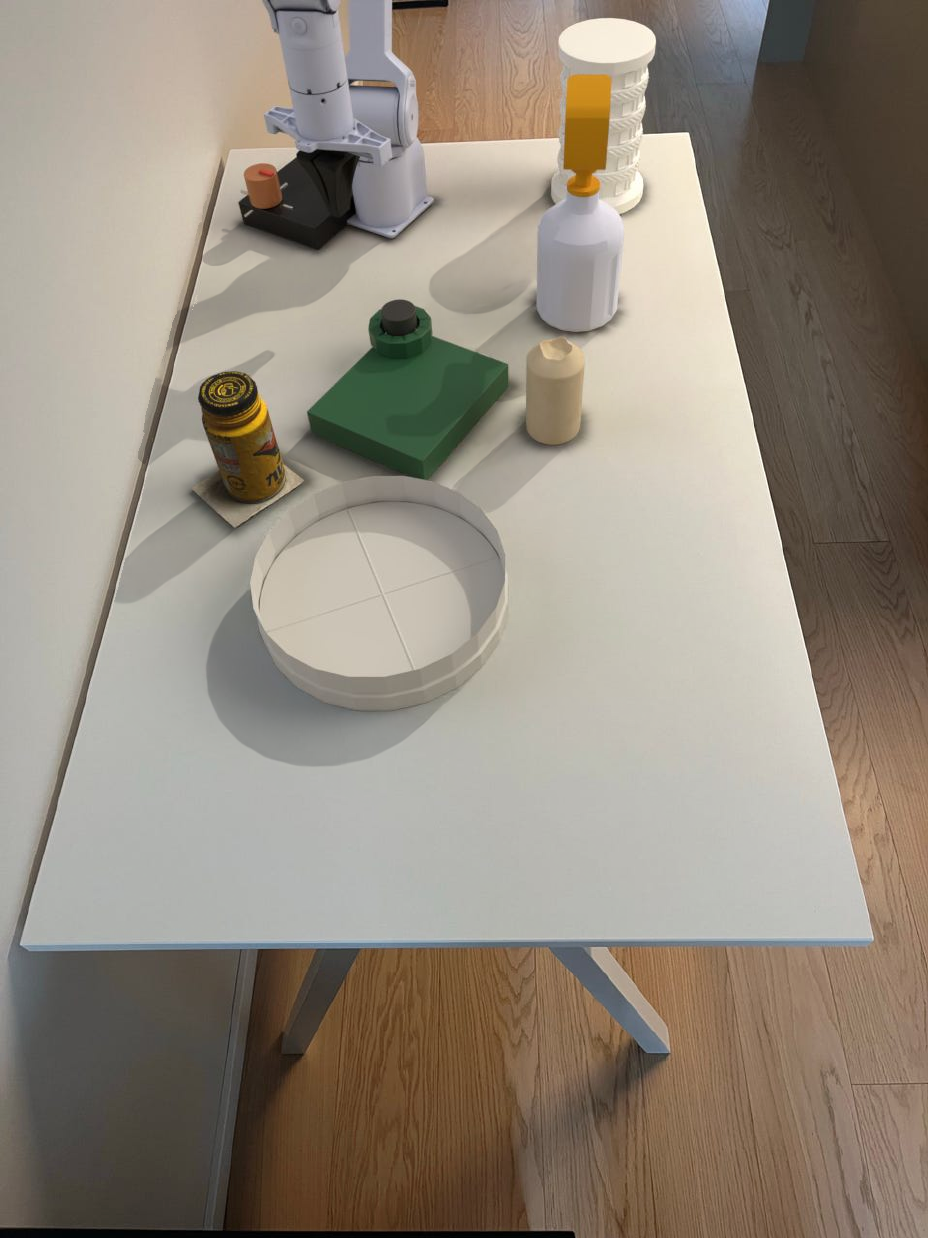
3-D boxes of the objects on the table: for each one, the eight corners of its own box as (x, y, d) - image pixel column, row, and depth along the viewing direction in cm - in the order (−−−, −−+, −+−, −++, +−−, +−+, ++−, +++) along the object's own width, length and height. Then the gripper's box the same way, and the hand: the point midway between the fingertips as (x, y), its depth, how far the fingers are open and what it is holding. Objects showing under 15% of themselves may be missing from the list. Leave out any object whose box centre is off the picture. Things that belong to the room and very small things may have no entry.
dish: (236, 552, 89) (222, 516, 85) (457, 483, 93) (454, 446, 88) (296, 748, 76) (284, 718, 72) (549, 660, 80) (550, 626, 76)
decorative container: (634, 163, 124) (649, 12, 109) (649, 213, 117) (668, 59, 103) (545, 170, 124) (549, 20, 110) (556, 221, 117) (561, 68, 103)
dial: (243, 203, 118) (236, 173, 114) (264, 187, 120) (257, 157, 116) (268, 212, 116) (261, 181, 113) (289, 195, 118) (282, 165, 115)
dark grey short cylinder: (395, 311, 101) (393, 295, 100) (423, 321, 100) (422, 305, 98) (376, 330, 100) (373, 314, 98) (404, 341, 98) (402, 324, 97)
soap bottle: (616, 284, 110) (638, 58, 90) (616, 335, 104) (638, 107, 84) (538, 282, 110) (542, 58, 90) (534, 333, 105) (537, 107, 85)
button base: (396, 335, 106) (392, 297, 102) (514, 379, 101) (514, 341, 97) (302, 429, 98) (292, 392, 94) (425, 483, 93) (420, 445, 89)
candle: (516, 435, 96) (516, 355, 88) (539, 401, 99) (541, 321, 91) (566, 452, 94) (571, 372, 86) (588, 417, 97) (595, 336, 89)
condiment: (304, 481, 94) (279, 387, 84) (235, 529, 91) (200, 436, 81) (260, 445, 97) (231, 350, 87) (192, 490, 94) (153, 396, 84)
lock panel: (313, 161, 128) (309, 138, 126) (392, 186, 124) (389, 162, 121) (226, 230, 120) (219, 206, 117) (307, 259, 115) (303, 235, 113)
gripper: (233, 81, 92) (264, 212, 103) (354, 116, 87) (373, 249, 98) (279, 50, 95) (304, 180, 106) (397, 82, 90) (411, 214, 101)
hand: (339, 211), depth 102 cm, fingers closed
